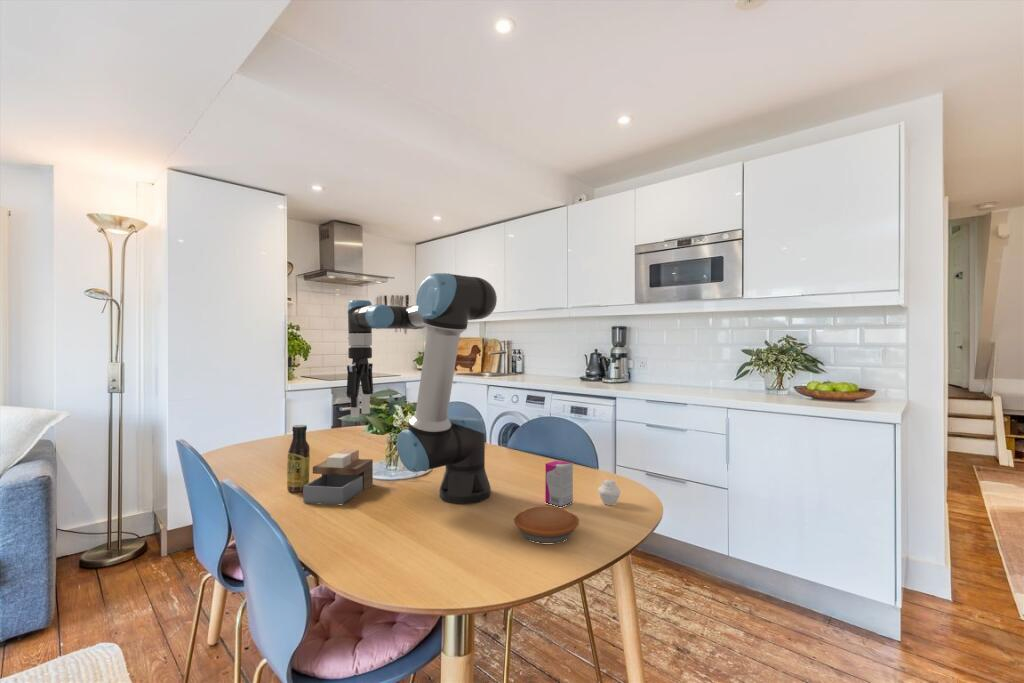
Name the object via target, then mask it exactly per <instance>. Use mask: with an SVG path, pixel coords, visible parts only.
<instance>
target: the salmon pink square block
mask: <svg viewBox="0 0 1024 683" xmlns="http://www.w3.org/2000/svg"><path fill="white" fill-rule="evenodd" d="M359 451H360V450H359V449H347V448H345V449H342V450H340V451H338V452H336V453H341V454H351V463H353V462H354V461H356V460H358V459H360V457H359V456H360V452H359Z"/></svg>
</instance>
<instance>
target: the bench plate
mask: <svg viewBox="0 0 1024 683" xmlns="http://www.w3.org/2000/svg"><path fill="white" fill-rule="evenodd" d="M373 466H374V465H373V458H372V459H371V458H359V459H358V460H356V461H354V462H353V463H351V464H349V465H347V466H345V467H343V468H332V467H327V459H325V460H324V461H322V462H320V463H318V464H315V465H314V466H312V474H313V475H314V474H315V475H321V476H323V475H325V474H333V475H359V476H363V491H365V490H367V489H368V488H369V487H372V485H374V484H373V483H374V481H373V480H374V478H373V477H374V476H373V475H374V473H373V471H374V470H373V469H374V468H373ZM366 488H367V489H366Z"/></svg>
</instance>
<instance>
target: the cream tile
mask: <svg viewBox="0 0 1024 683" xmlns="http://www.w3.org/2000/svg"><path fill="white" fill-rule="evenodd" d="M326 460H327V467H332V468H343V467H345V466H347V465H349V464H351V454H341V453H337V452H336V453H333V454H331V455H329V456H327V457H326Z"/></svg>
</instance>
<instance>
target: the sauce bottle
mask: <svg viewBox="0 0 1024 683" xmlns="http://www.w3.org/2000/svg"><path fill="white" fill-rule="evenodd" d="M307 427H308V426H307V424H296V425H295V424H294V425H293V426H292V428H291V429H292V430H291V431H292V440H291V444H290V446H289V448H288V449H289V450H288V452H287V467H286V468H287V470H286V474H287V475H286V476H287V477H286V486H287V487H286V488H287V491H288V492H291V493H294V492H295V493H299V491H300V492H303V486H304V485H306V484H308V483H310V459H311V458H310V444H309V443H308V442H307V429H308V428H307Z"/></svg>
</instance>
